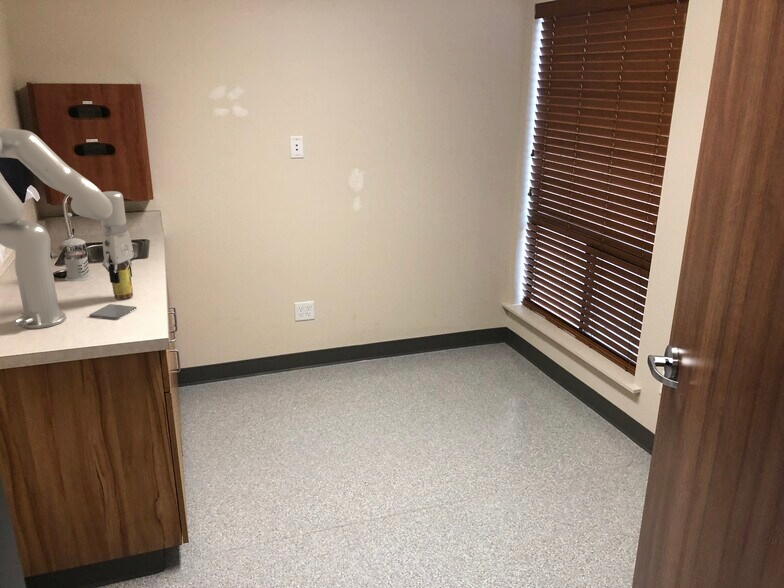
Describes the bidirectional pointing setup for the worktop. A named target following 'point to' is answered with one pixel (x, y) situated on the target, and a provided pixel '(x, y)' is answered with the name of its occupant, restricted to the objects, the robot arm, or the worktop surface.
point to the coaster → (112, 311)
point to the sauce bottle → (123, 282)
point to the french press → (76, 260)
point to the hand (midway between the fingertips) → (121, 279)
